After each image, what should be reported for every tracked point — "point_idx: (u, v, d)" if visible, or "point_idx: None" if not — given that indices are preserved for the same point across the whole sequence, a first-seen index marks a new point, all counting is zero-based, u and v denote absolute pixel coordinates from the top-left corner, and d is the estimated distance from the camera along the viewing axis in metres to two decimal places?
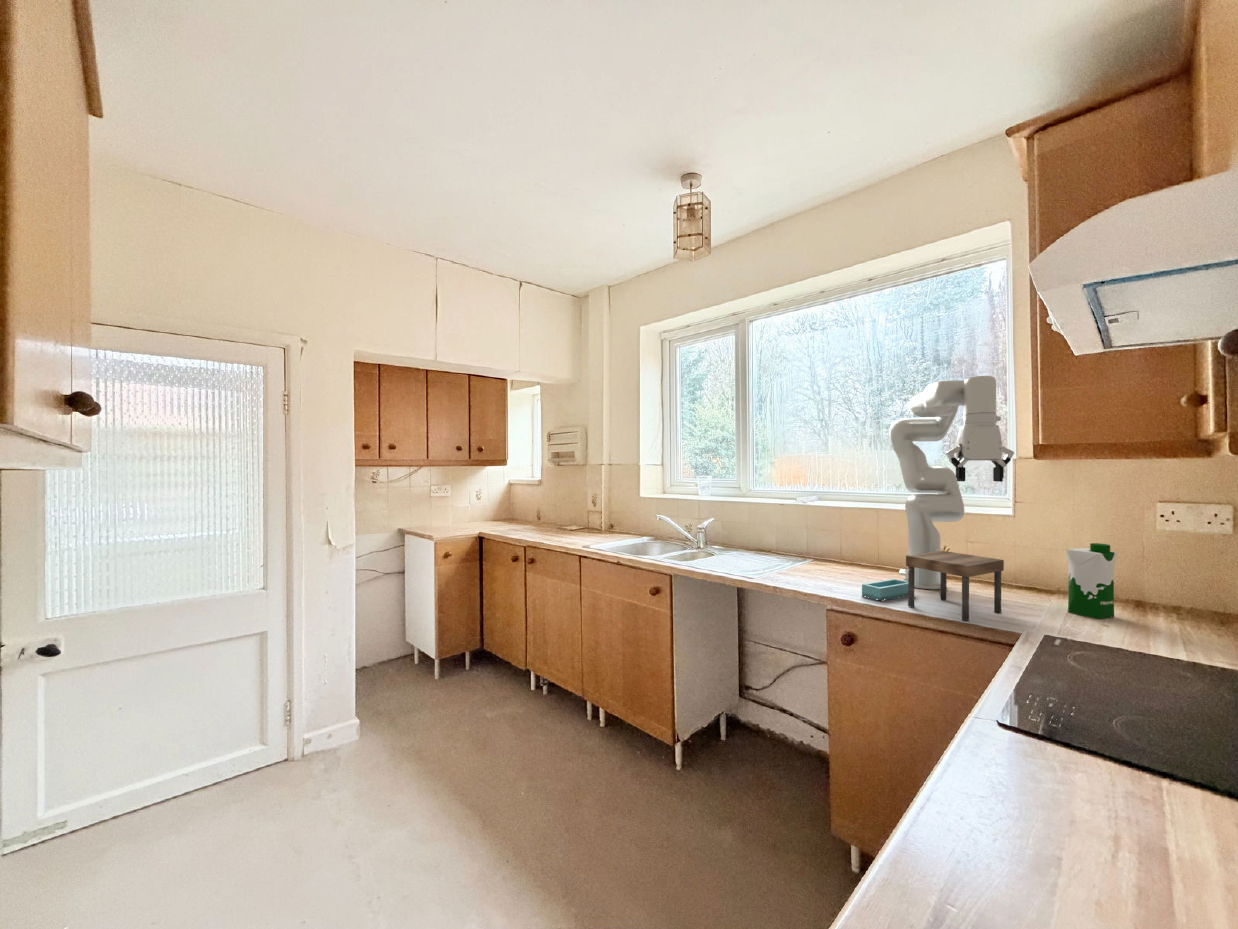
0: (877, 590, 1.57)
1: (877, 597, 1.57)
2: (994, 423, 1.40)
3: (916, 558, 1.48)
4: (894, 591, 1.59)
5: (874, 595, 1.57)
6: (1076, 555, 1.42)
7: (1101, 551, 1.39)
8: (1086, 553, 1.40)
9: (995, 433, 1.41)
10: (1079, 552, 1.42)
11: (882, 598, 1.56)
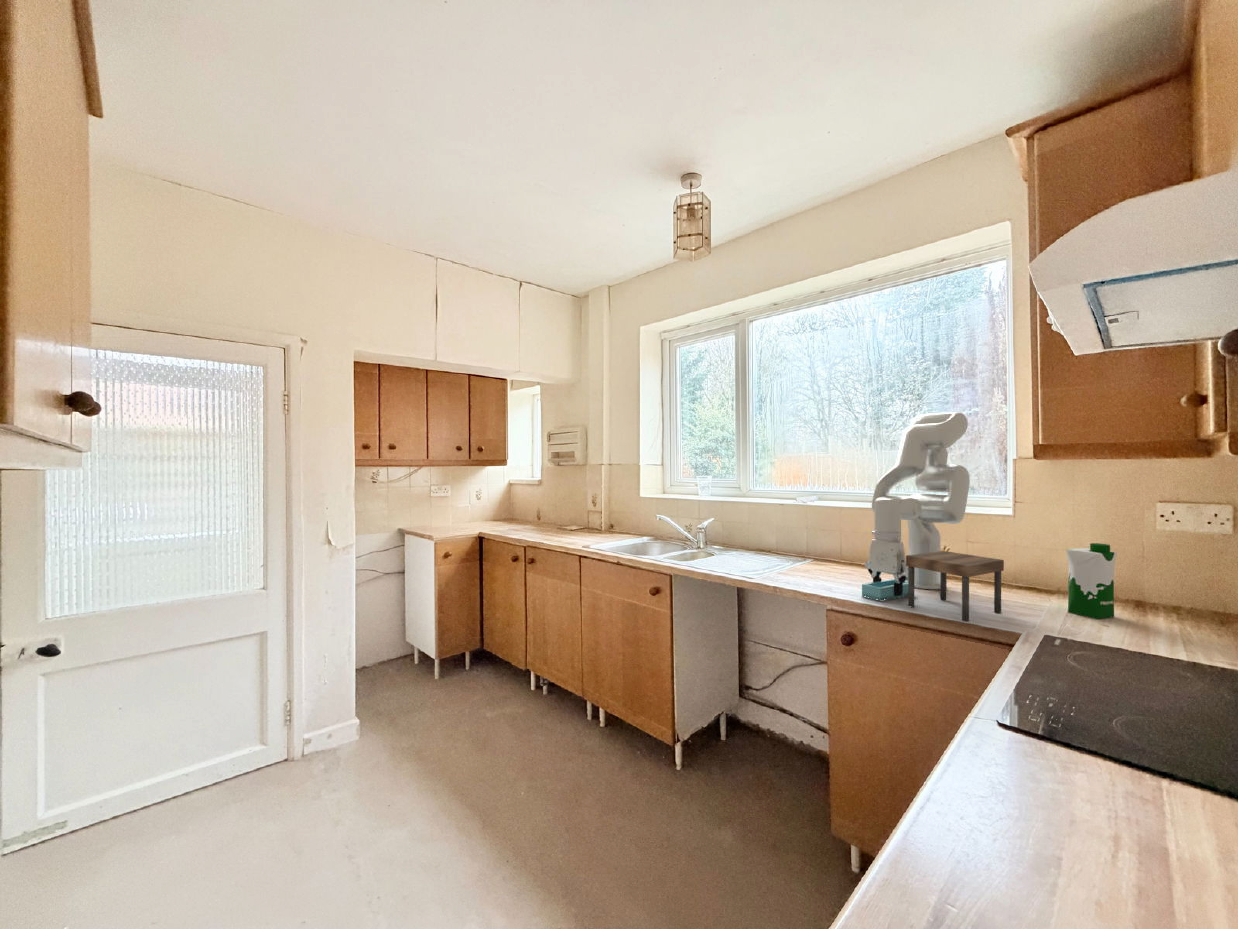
0: (877, 590, 1.57)
1: (877, 597, 1.57)
2: None
3: (916, 558, 1.48)
4: None
5: (874, 595, 1.57)
6: (1076, 555, 1.42)
7: (1101, 551, 1.39)
8: (1086, 553, 1.40)
9: None
10: (1079, 552, 1.42)
11: (882, 598, 1.56)
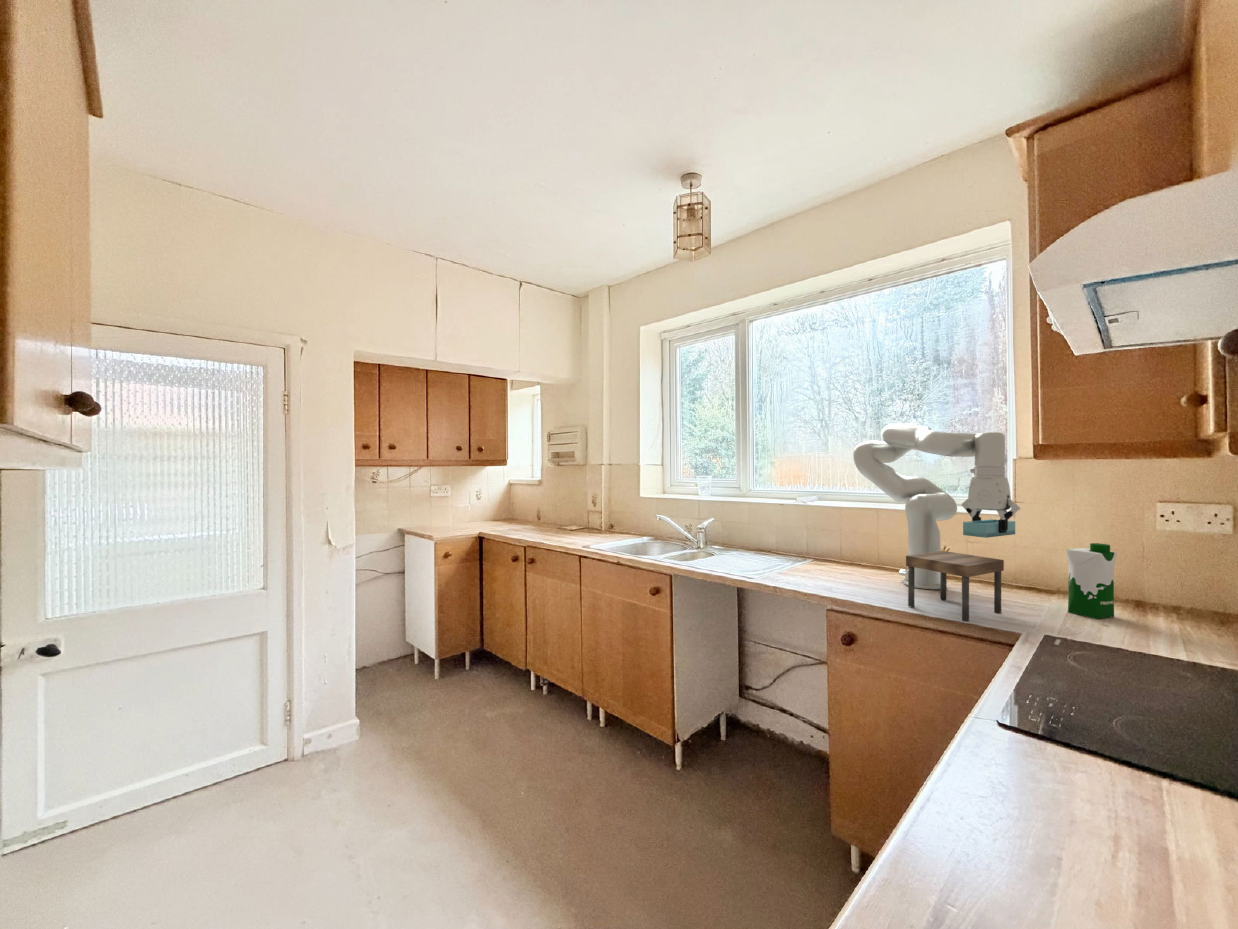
0: (982, 526, 1.50)
1: (982, 533, 1.50)
2: None
3: (916, 558, 1.48)
4: (998, 528, 1.52)
5: (978, 531, 1.51)
6: (1076, 555, 1.42)
7: (1101, 551, 1.39)
8: (1086, 553, 1.40)
9: None
10: (1079, 552, 1.42)
11: (987, 534, 1.50)
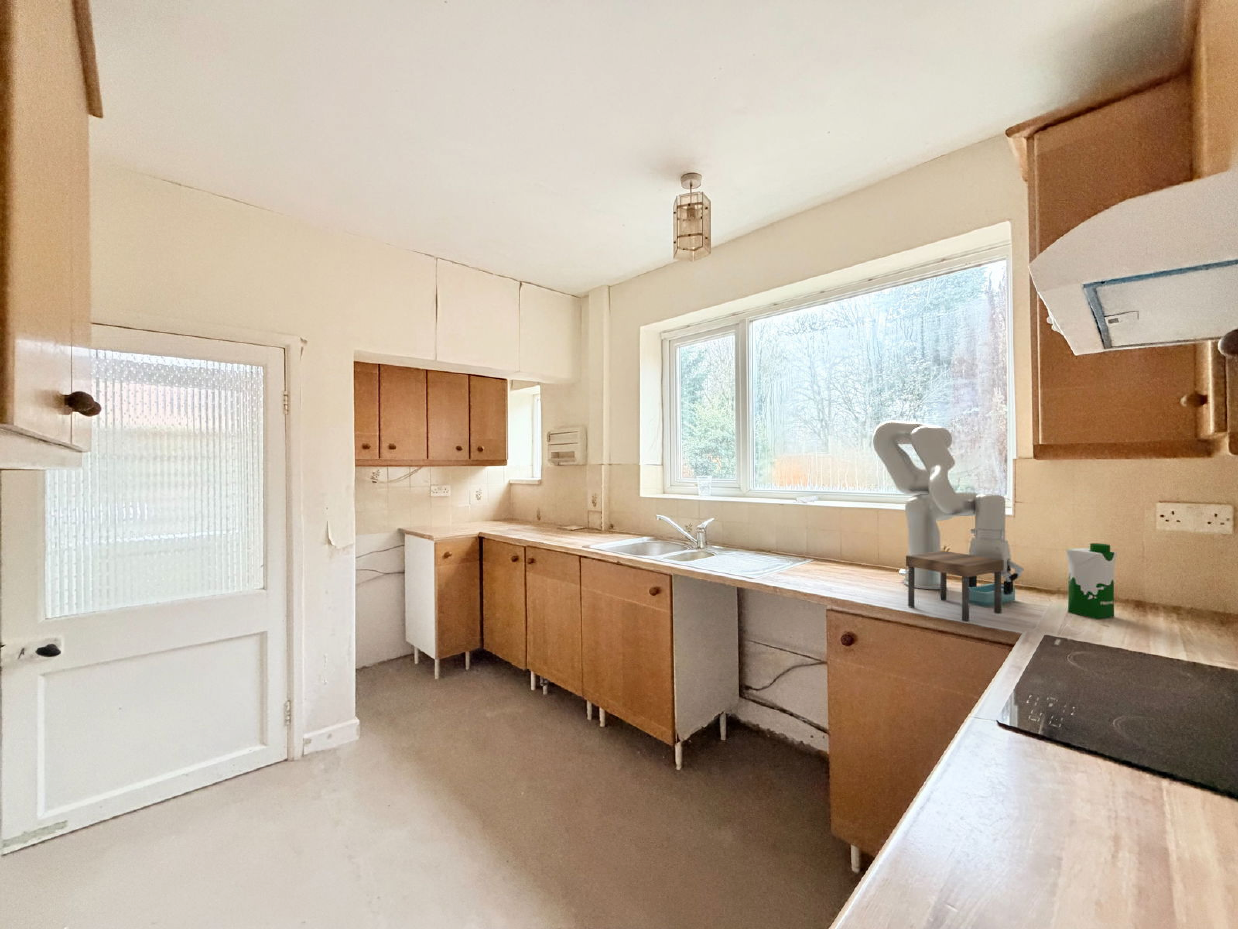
0: (982, 595, 1.50)
1: (982, 603, 1.50)
2: None
3: (916, 558, 1.48)
4: None
5: (979, 600, 1.51)
6: (1076, 555, 1.42)
7: (1101, 551, 1.39)
8: (1086, 553, 1.40)
9: None
10: (1079, 552, 1.42)
11: (988, 604, 1.50)
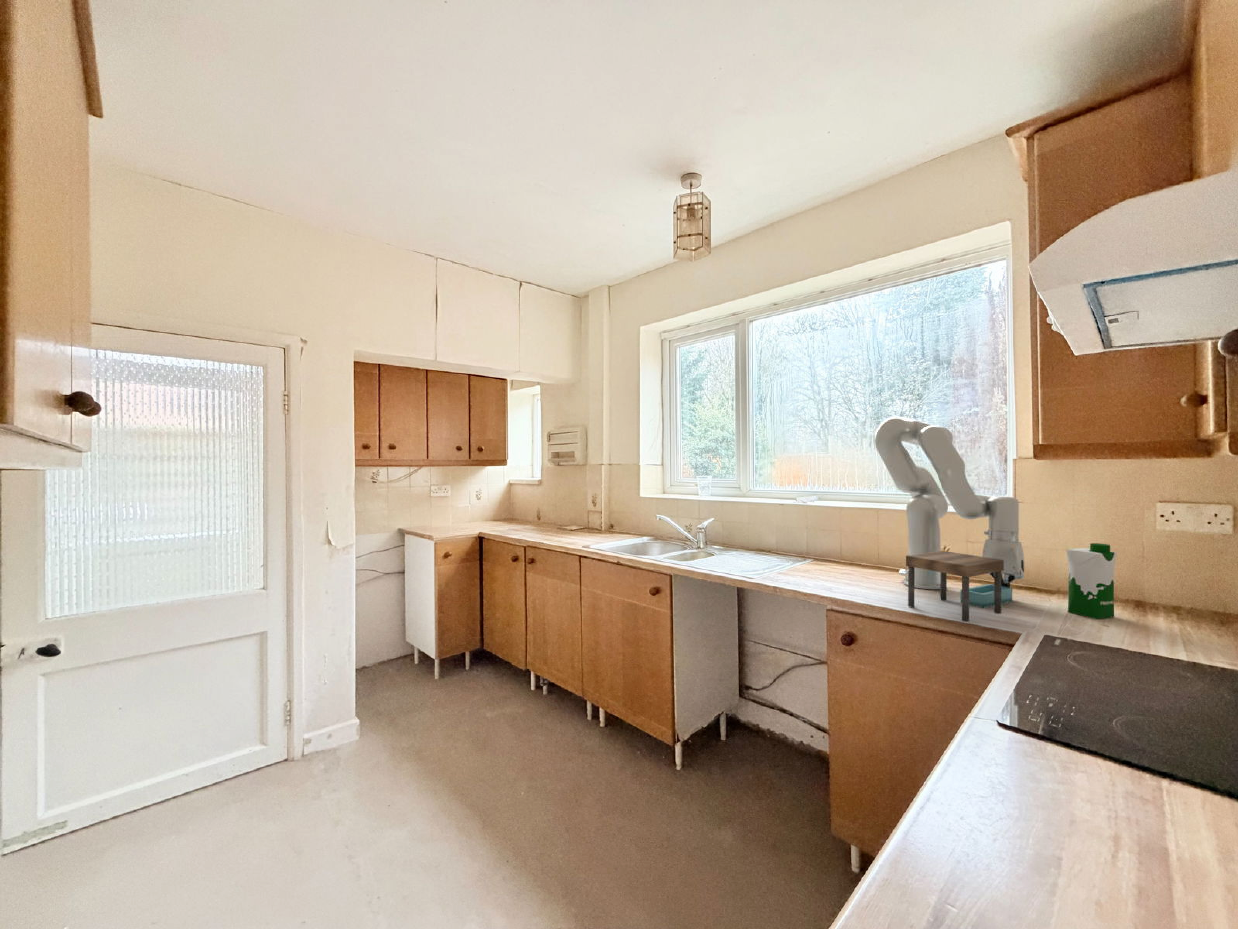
0: (980, 596, 1.49)
1: (980, 604, 1.49)
2: None
3: (916, 558, 1.48)
4: None
5: (976, 601, 1.50)
6: (1076, 555, 1.42)
7: (1101, 551, 1.39)
8: (1086, 553, 1.40)
9: None
10: (1079, 552, 1.42)
11: (985, 605, 1.49)
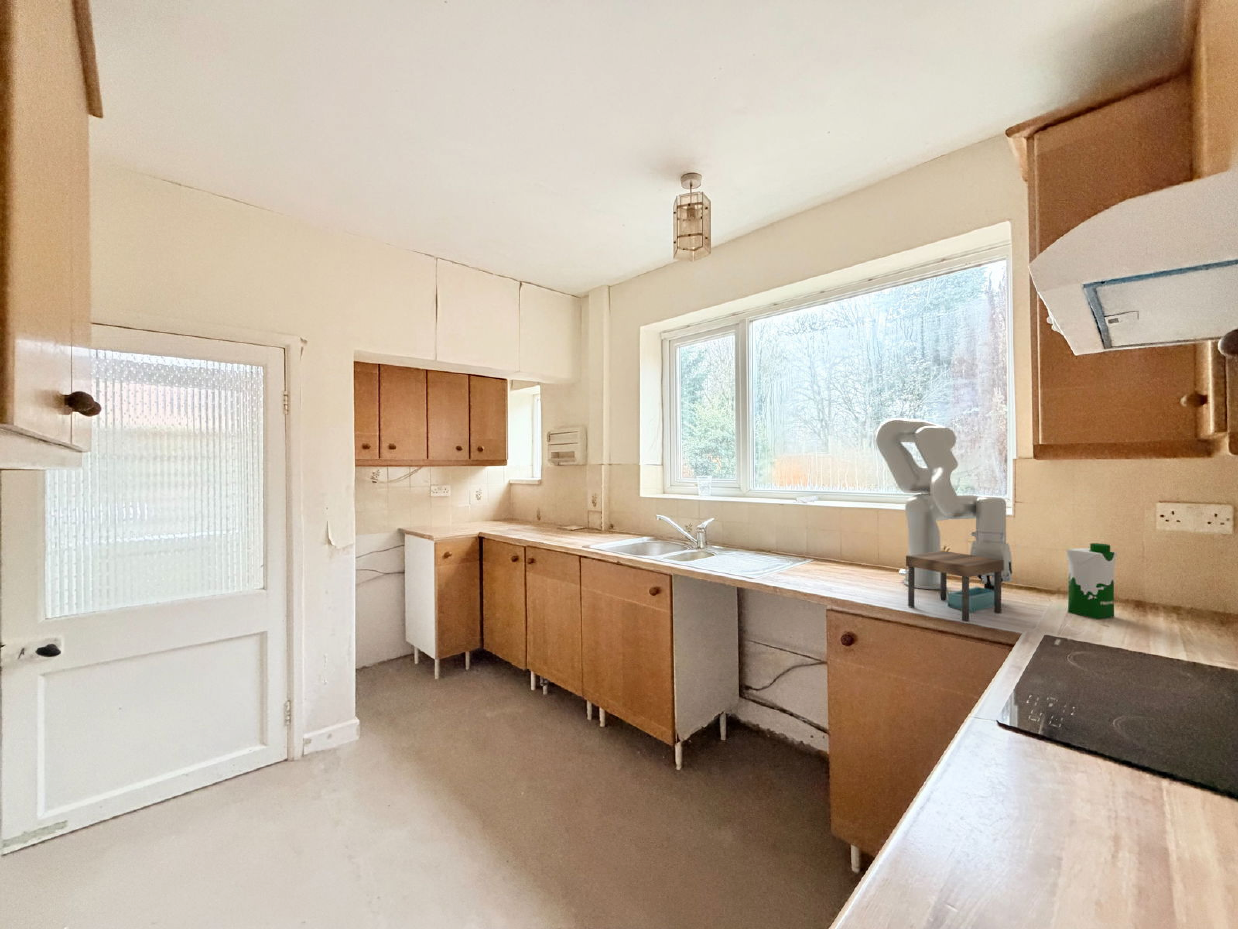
0: None
1: None
2: None
3: (916, 558, 1.48)
4: (983, 600, 1.48)
5: None
6: (1076, 555, 1.42)
7: (1101, 551, 1.39)
8: (1086, 553, 1.40)
9: None
10: (1079, 552, 1.42)
11: (973, 608, 1.45)
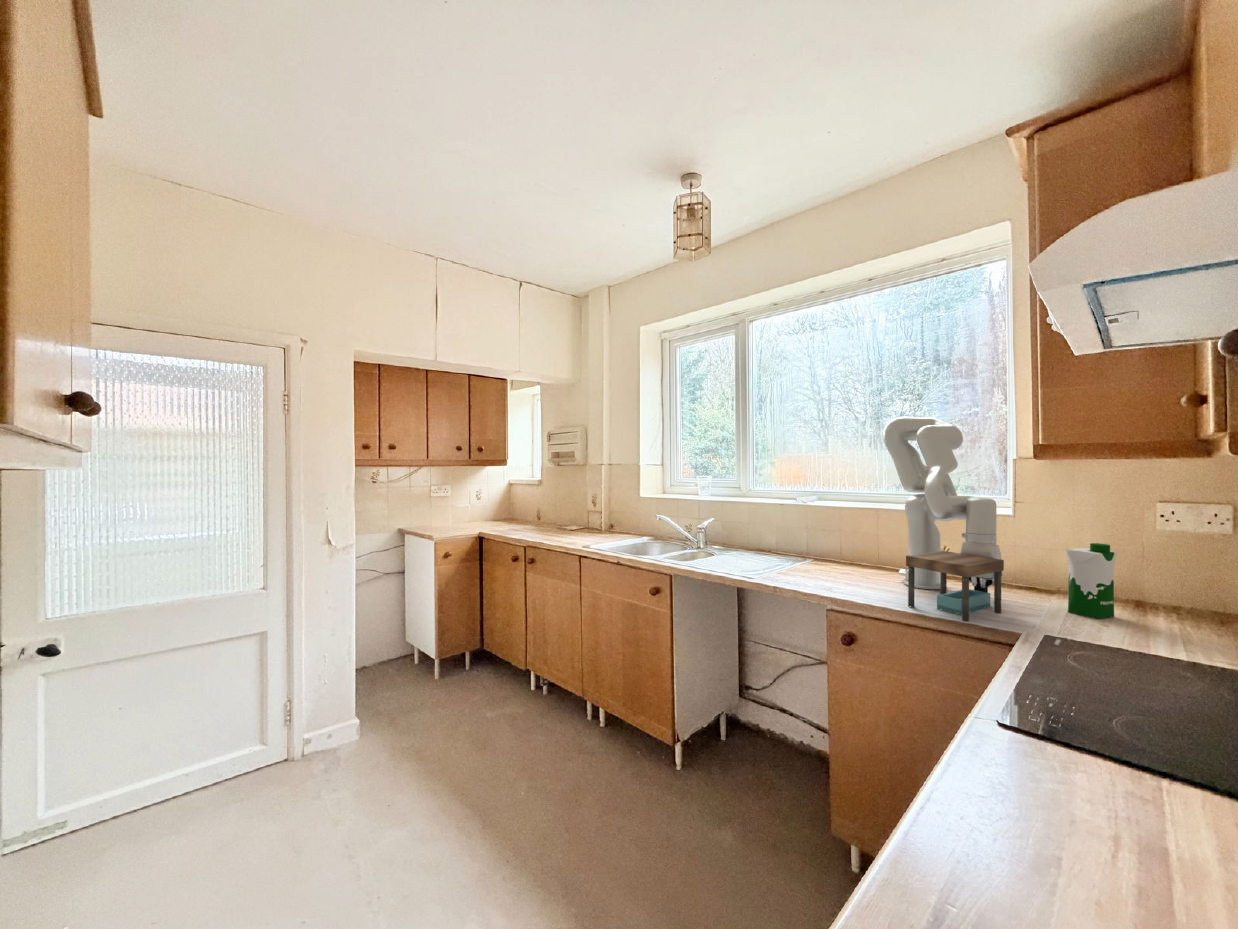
0: (956, 602, 1.43)
1: (956, 610, 1.43)
2: None
3: (916, 558, 1.48)
4: (973, 603, 1.46)
5: (953, 607, 1.44)
6: (1076, 555, 1.42)
7: (1101, 551, 1.39)
8: (1086, 553, 1.40)
9: None
10: (1079, 552, 1.42)
11: None
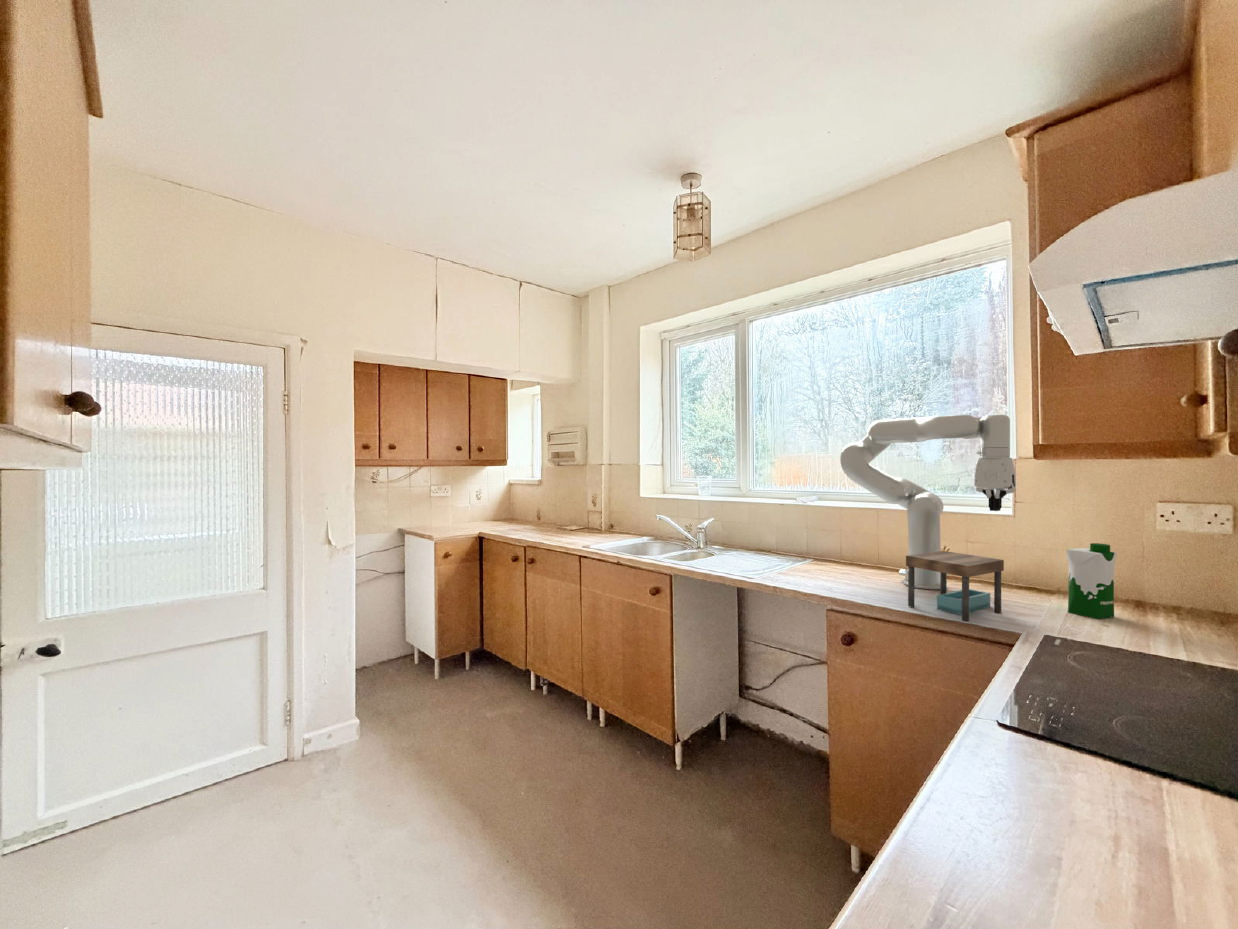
0: (956, 602, 1.43)
1: (956, 610, 1.43)
2: None
3: (916, 558, 1.48)
4: (973, 603, 1.46)
5: (953, 607, 1.44)
6: (1076, 555, 1.42)
7: (1101, 551, 1.39)
8: (1086, 553, 1.40)
9: None
10: (1079, 552, 1.42)
11: None
